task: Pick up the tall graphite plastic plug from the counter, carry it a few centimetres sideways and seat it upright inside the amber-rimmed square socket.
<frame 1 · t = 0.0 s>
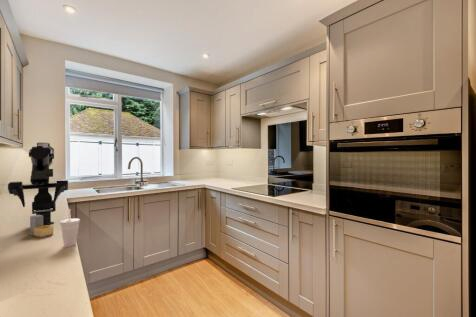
hand: (39, 205, 92), 15 cm above the countertop, tool tilted 35°, fingers open, 9 cm apart
plug: (36, 233, 103), on the countertop
smoothie: (70, 245, 89), on the countertop
socket block: (43, 235, 100), on the countertop
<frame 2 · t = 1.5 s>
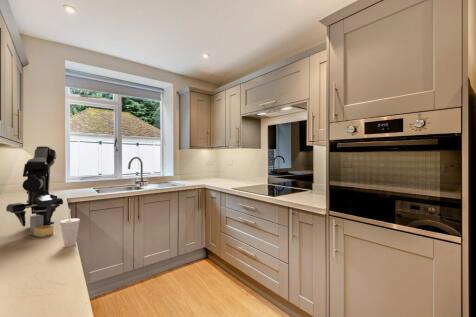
hand: (36, 223, 103), 4 cm above the countertop, tool pointing down, fingers open, 9 cm apart
nothing on the countertop moved.
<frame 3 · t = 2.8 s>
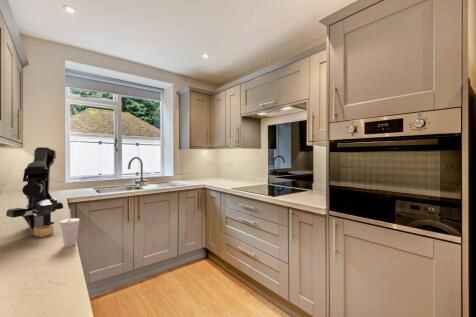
hand: (36, 228, 103), 2 cm above the countertop, tool pointing down, fingers closed on plug, 3 cm apart
plug: (36, 233, 103), on the countertop, touching gripper
everything else where it was.
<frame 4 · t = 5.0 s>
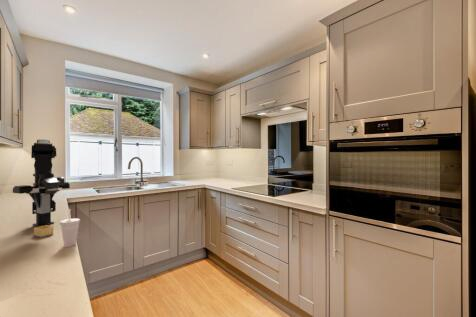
hand: (43, 206, 100), 12 cm above the countertop, tool pointing down, fingers closed on plug, 3 cm apart
plug: (43, 212, 100), point 10 cm above the countertop, touching gripper
everything else where it was.
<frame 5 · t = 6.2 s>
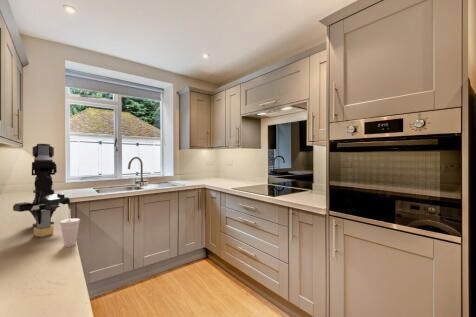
hand: (43, 223, 100), 5 cm above the countertop, tool pointing down, fingers closed on plug, 3 cm apart
plug: (43, 228, 100), point 3 cm above the countertop, touching gripper
everything else where it was.
when the fingers open (4 cm above the countertop, at t = 7.0 s): plug drops 1 cm, resting on socket block.
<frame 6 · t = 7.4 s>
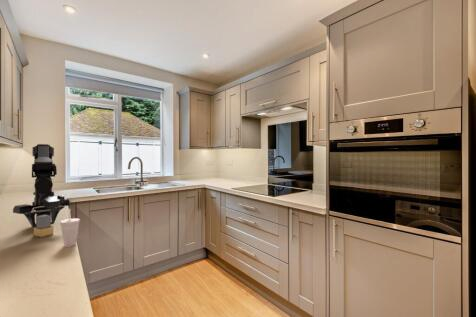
hand: (43, 225, 100), 4 cm above the countertop, tool pointing down, fingers open, 7 cm apart
plug: (43, 234, 100), resting on socket block
everything else where it was.
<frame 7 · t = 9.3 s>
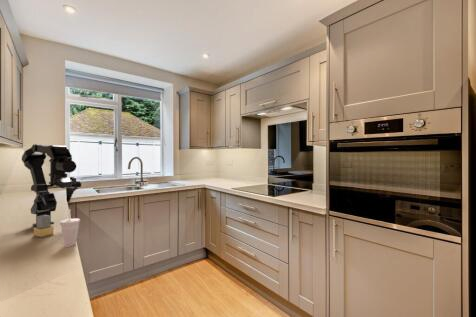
hand: (57, 203, 110), 12 cm above the countertop, tool pointing down, fingers open, 9 cm apart
nothing on the countertop moved.
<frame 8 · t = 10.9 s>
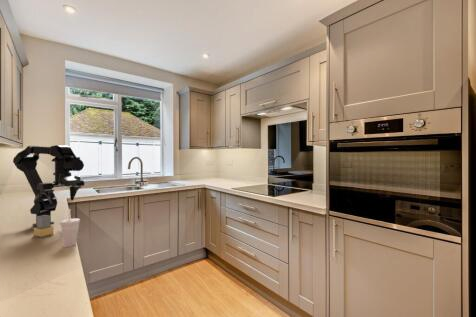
hand: (62, 202, 114), 12 cm above the countertop, tool pointing down, fingers open, 9 cm apart
nothing on the countertop moved.
at the end: plug 0.0 cm off-centre on the socket block, point 0.5 cm above the socket block's base; plug tilted 0°; the gripper is holding nothing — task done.
